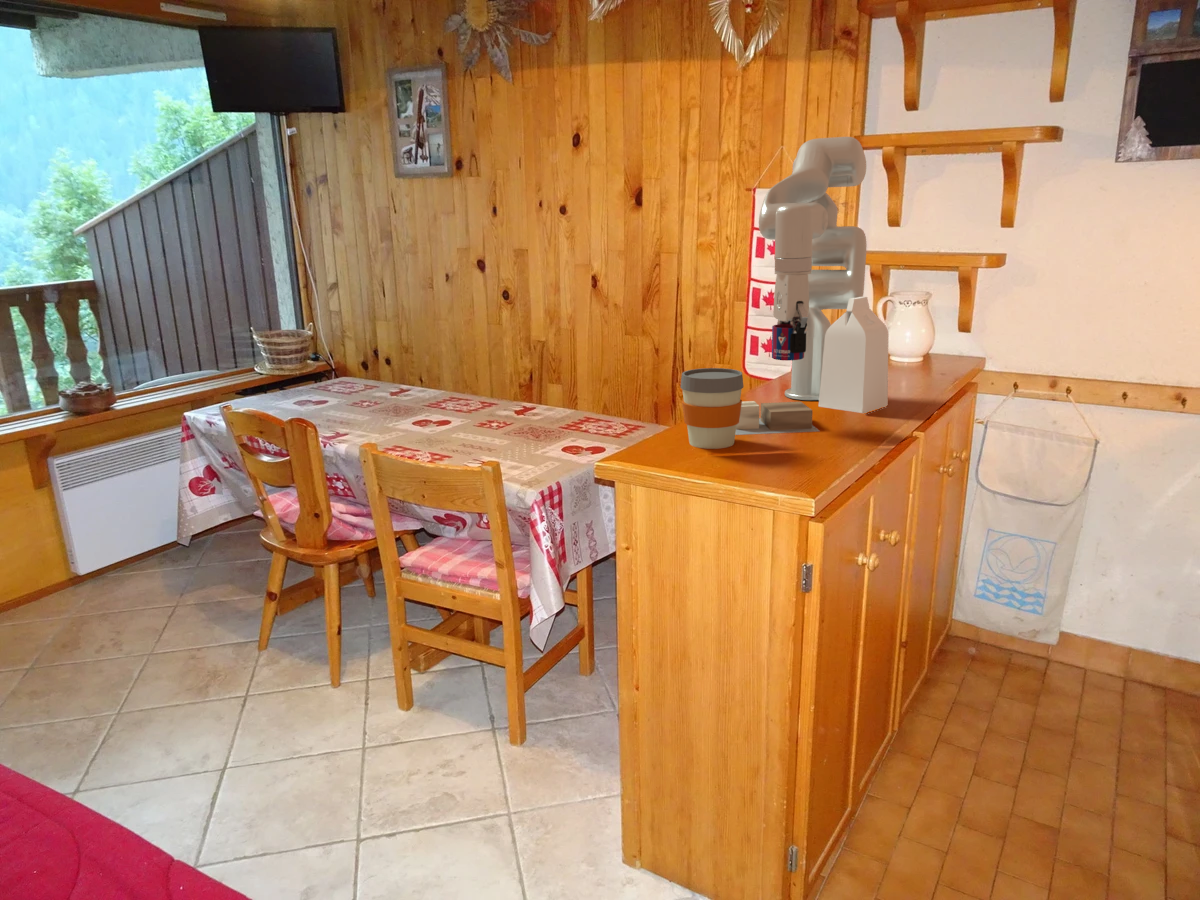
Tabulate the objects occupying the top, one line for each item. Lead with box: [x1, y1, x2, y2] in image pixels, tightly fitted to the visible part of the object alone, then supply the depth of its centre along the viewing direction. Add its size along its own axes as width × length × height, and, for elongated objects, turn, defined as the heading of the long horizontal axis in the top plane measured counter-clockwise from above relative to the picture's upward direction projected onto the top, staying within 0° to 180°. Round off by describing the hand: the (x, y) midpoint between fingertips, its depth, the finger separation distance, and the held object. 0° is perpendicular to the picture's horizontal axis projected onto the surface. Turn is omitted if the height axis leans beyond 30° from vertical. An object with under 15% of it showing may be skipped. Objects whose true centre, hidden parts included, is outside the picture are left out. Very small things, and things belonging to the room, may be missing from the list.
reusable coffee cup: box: [680, 367, 744, 450], centre depth 171 cm, size 13×12×15 cm
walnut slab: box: [760, 401, 813, 430], centre depth 185 cm, size 9×9×4 cm
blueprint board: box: [735, 417, 820, 436], centre depth 186 cm, size 14×18×1 cm
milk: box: [818, 296, 890, 414], centre depth 199 cm, size 12×12×26 cm
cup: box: [771, 323, 804, 361], centre depth 181 cm, size 7×10×7 cm
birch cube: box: [736, 400, 760, 429], centre depth 185 cm, size 5×5×5 cm
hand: (791, 348), depth 181 cm, fingers closed on cup, 8 cm apart
